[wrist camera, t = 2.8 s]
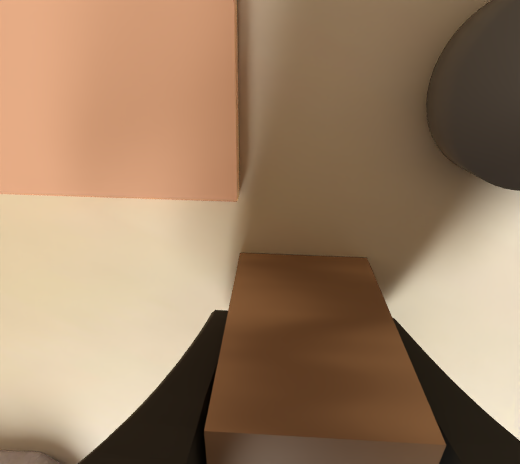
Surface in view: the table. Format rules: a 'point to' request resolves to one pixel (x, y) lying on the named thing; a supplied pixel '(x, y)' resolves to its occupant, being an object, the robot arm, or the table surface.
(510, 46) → the black rubber puck
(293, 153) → the table surface
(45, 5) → the terracotta tile
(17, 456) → the stone block
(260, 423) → the walnut block
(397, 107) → the table surface
